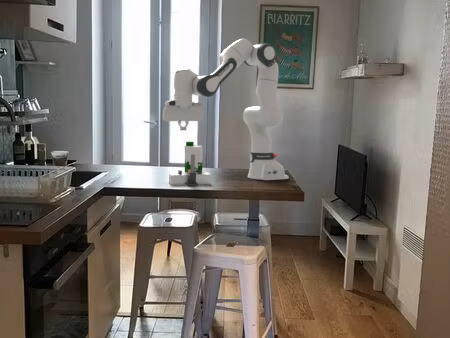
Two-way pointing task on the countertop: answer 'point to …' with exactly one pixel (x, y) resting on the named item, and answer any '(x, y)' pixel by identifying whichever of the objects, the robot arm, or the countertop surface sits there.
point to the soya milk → (198, 152)
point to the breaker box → (183, 178)
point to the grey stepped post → (192, 173)
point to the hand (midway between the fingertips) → (183, 130)
